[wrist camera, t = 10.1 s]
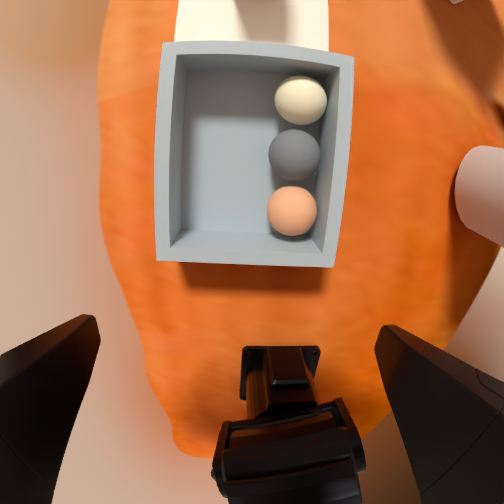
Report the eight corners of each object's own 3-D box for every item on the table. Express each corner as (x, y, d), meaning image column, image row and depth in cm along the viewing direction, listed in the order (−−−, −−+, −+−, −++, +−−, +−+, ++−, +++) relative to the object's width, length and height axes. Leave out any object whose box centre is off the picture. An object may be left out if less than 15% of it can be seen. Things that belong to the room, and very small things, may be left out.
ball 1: (317, 128, 17) (332, 126, 14) (270, 124, 17) (276, 119, 14) (320, 84, 16) (335, 75, 13) (273, 78, 16) (279, 66, 13)
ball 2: (308, 179, 18) (325, 186, 15) (262, 175, 18) (272, 182, 15) (312, 133, 17) (330, 132, 14) (265, 128, 17) (276, 125, 14)
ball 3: (307, 229, 19) (319, 244, 16) (262, 226, 19) (267, 241, 16) (312, 184, 18) (326, 191, 15) (266, 180, 18) (271, 187, 15)
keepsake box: (316, 244, 20) (333, 267, 16) (171, 237, 20) (156, 260, 16) (332, 72, 16) (354, 57, 12) (177, 61, 15) (163, 42, 12)
